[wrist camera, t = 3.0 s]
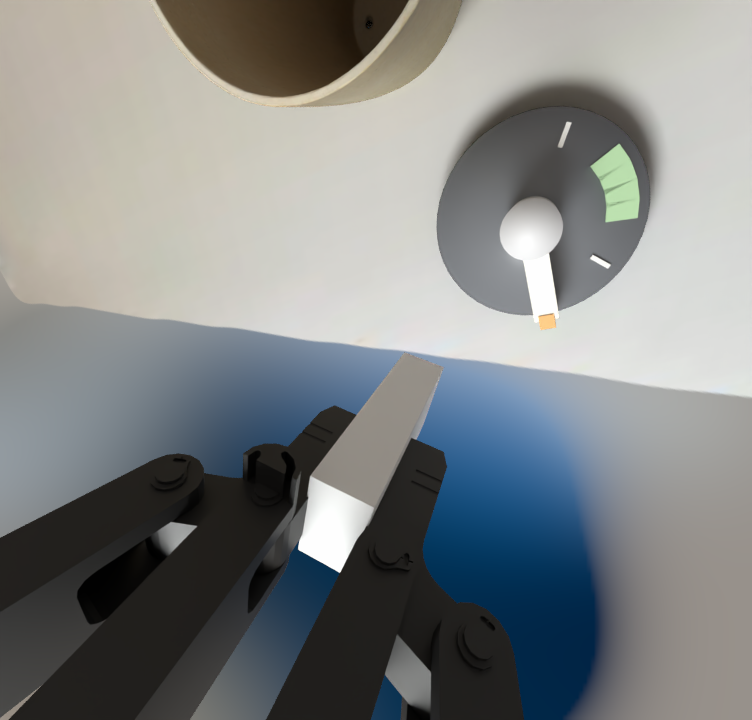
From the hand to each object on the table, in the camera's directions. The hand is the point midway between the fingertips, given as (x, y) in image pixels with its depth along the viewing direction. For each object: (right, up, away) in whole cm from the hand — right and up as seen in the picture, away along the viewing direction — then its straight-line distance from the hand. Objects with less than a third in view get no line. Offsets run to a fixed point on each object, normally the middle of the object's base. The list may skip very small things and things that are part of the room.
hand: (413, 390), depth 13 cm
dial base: (+11, +12, +14) cm, 22 cm away
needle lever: (+11, +9, +13) cm, 19 cm away
